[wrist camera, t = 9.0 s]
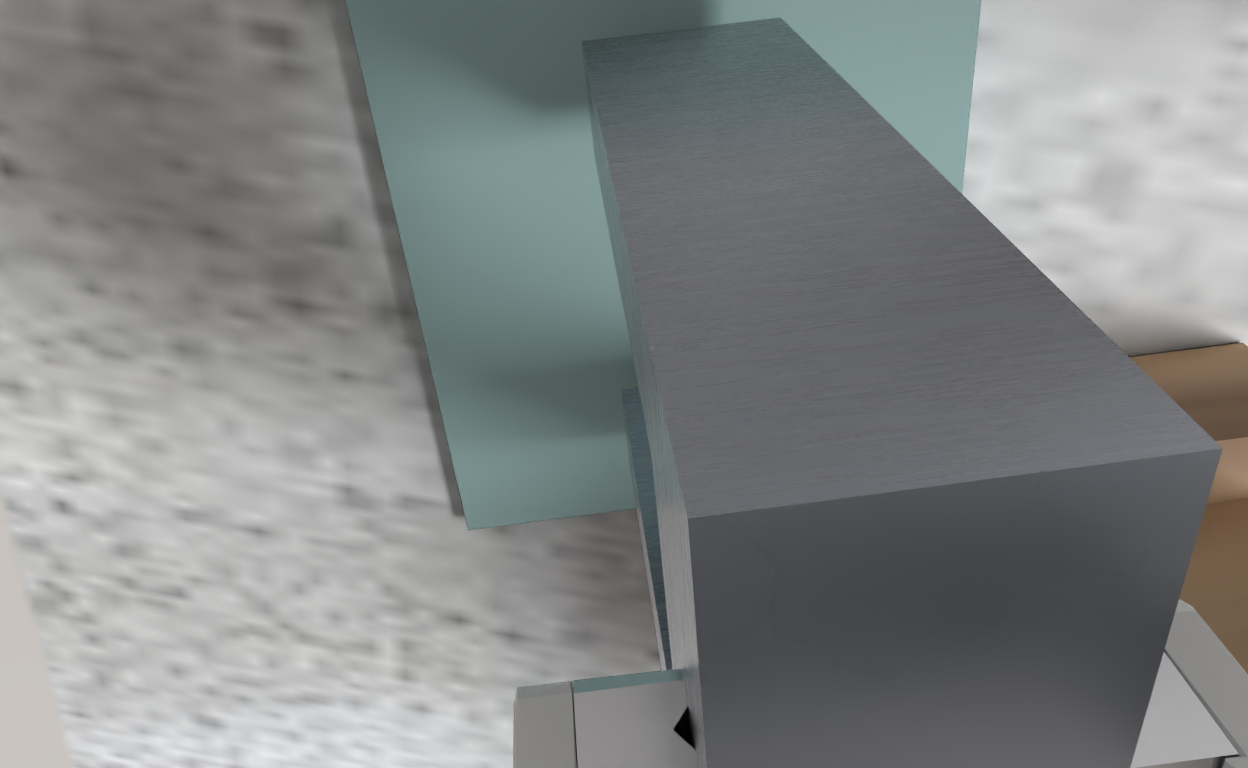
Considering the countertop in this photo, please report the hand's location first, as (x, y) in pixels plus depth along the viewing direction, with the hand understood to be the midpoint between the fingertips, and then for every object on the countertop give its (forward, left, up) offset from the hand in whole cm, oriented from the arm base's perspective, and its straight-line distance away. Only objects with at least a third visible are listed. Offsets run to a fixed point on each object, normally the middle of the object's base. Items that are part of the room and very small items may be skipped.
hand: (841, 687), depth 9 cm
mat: (0, 0, -10) cm, 10 cm away
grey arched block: (0, 0, -9) cm, 9 cm away
